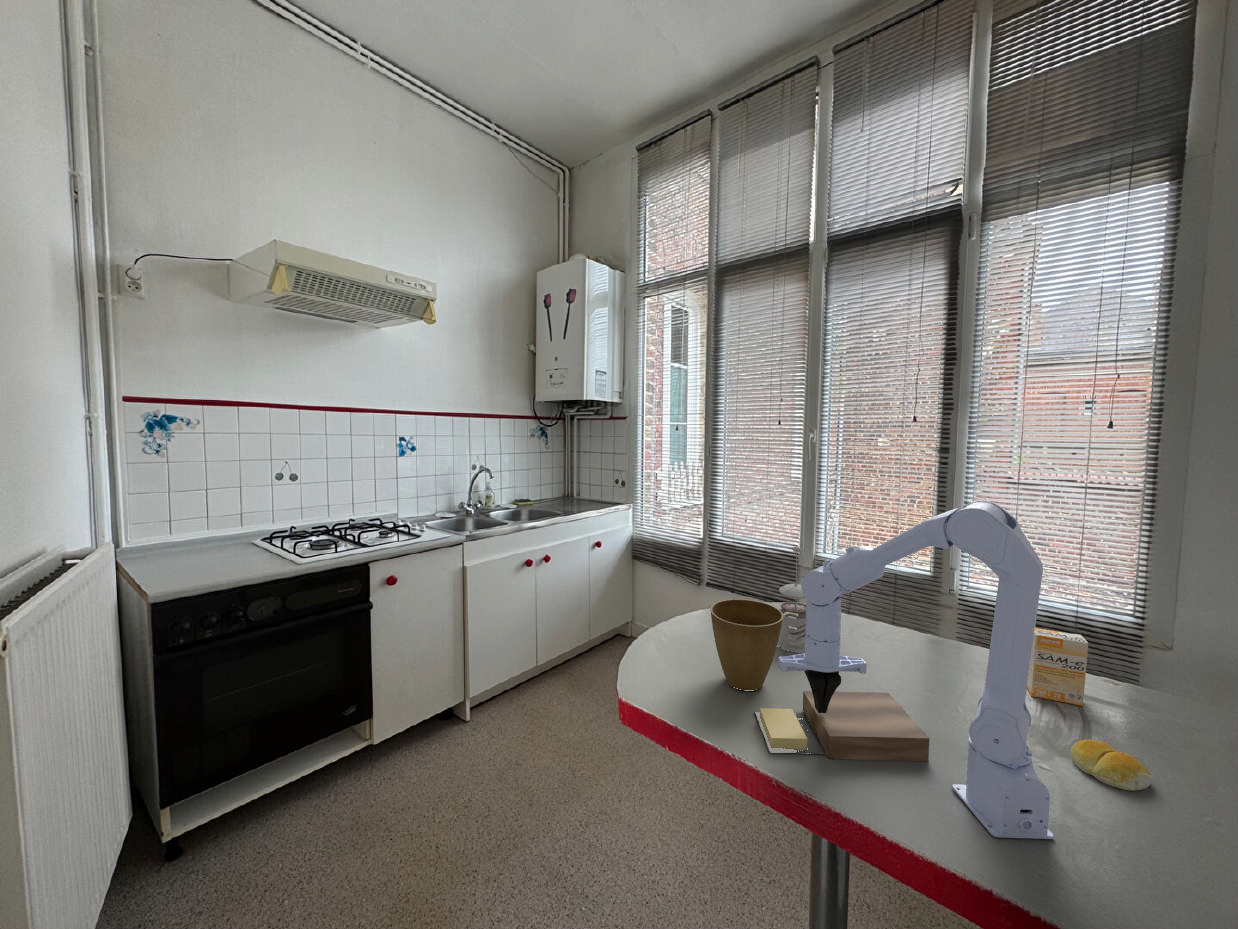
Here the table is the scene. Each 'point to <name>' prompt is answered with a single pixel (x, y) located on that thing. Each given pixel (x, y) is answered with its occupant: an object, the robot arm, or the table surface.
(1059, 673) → the supplement box
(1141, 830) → the table surface
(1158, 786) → the table surface
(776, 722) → the pale yellow block
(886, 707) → the board
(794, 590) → the french press
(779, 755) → the table surface
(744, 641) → the plant pot
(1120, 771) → the bread roll
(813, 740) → the mat
